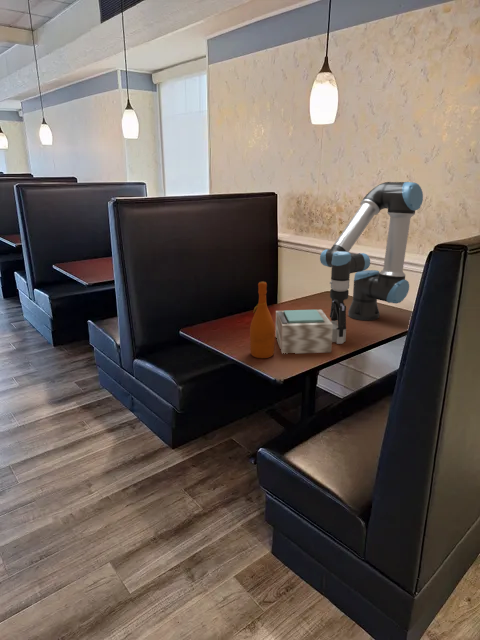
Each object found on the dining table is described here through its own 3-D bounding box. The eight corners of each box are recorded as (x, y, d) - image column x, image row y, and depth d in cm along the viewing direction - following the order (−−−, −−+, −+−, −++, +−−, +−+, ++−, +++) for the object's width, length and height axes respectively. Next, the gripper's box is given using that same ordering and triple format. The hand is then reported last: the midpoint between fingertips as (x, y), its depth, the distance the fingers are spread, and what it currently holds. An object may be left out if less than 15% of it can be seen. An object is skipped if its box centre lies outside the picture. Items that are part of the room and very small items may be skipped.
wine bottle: (271, 349, 179) (272, 278, 169) (277, 358, 170) (278, 284, 160) (248, 350, 178) (247, 279, 168) (252, 360, 168) (251, 285, 159)
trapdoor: (315, 311, 187) (315, 309, 187) (323, 322, 174) (323, 319, 174) (283, 312, 186) (283, 310, 186) (288, 323, 173) (289, 320, 173)
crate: (319, 335, 194) (321, 308, 190) (331, 352, 175) (332, 323, 171) (275, 336, 193) (275, 309, 189) (282, 353, 174) (282, 324, 170)
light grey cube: (341, 336, 191) (342, 324, 190) (345, 341, 186) (346, 328, 184) (328, 337, 191) (328, 324, 189) (331, 342, 186) (332, 329, 184)
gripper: (324, 283, 192) (322, 330, 199) (337, 296, 170) (334, 348, 178) (341, 282, 192) (338, 329, 199) (356, 295, 171) (352, 348, 178)
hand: (336, 338), depth 188 cm, fingers open, 10 cm apart
